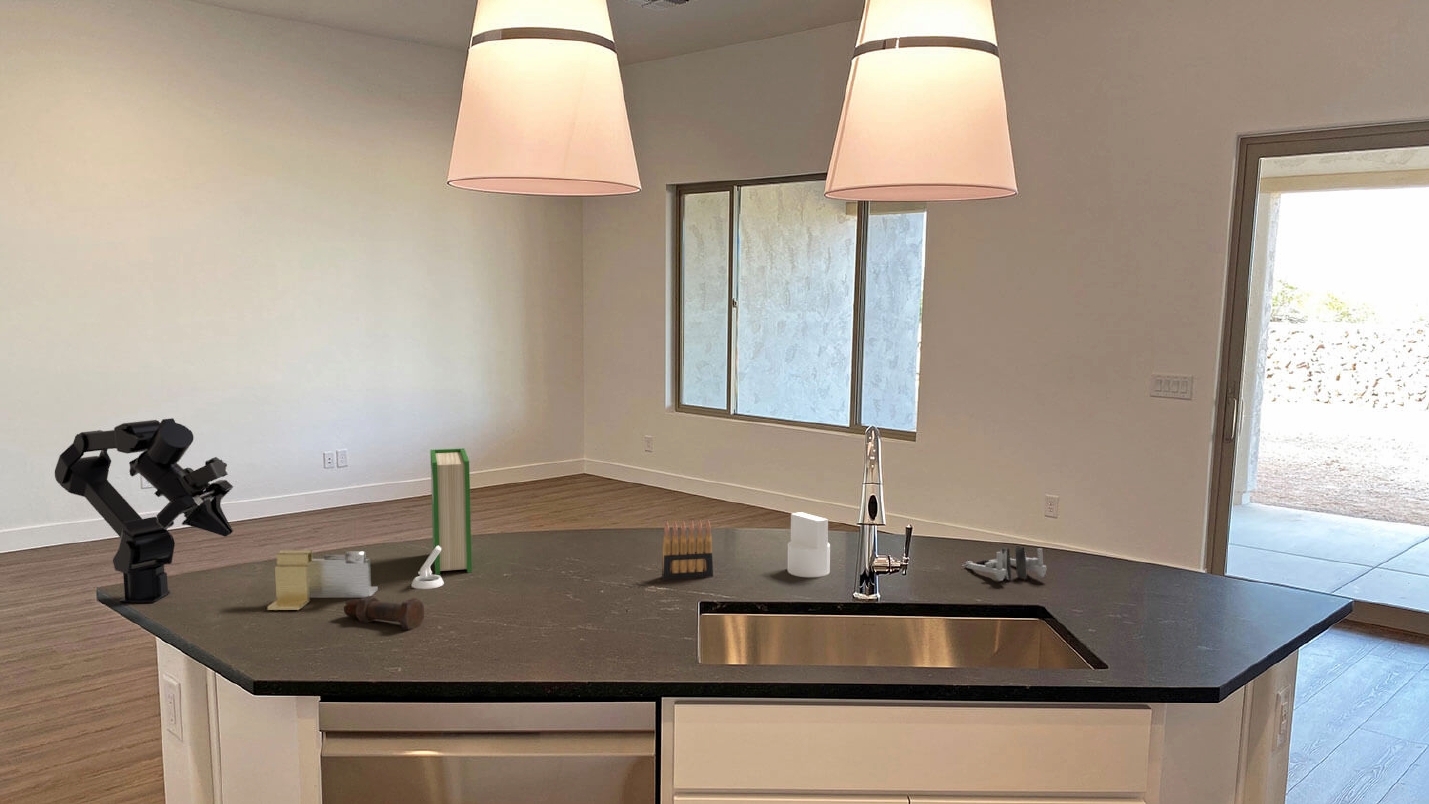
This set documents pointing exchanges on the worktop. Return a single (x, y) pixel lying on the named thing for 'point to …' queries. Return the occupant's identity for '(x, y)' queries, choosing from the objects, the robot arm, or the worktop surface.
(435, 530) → the hardback book
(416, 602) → the bolt
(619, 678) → the worktop surface
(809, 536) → the cylinder with rectangular tab
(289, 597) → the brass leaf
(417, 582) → the hook
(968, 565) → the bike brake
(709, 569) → the ammunition clip
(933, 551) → the worktop surface
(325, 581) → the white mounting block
